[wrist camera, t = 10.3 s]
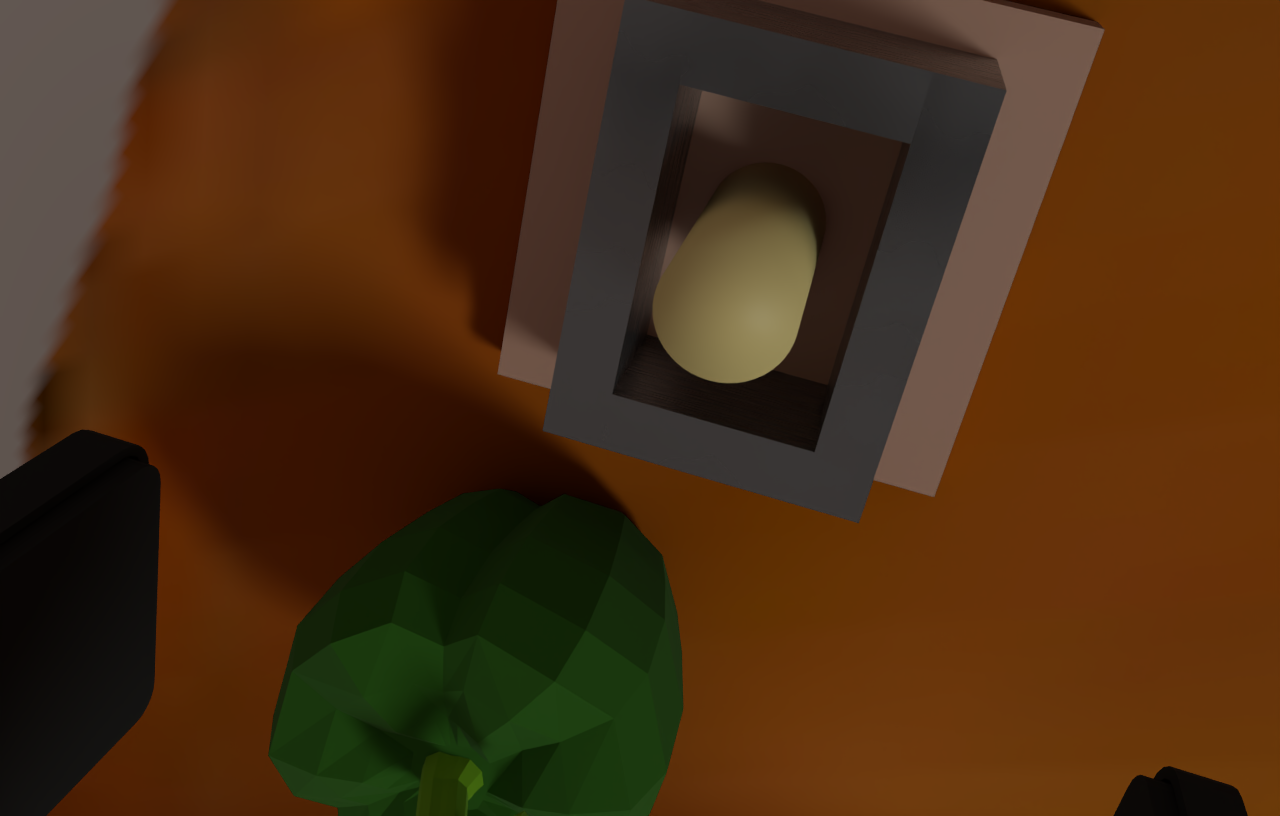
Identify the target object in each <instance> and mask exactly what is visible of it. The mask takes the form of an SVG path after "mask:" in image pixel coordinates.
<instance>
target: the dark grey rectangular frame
mask: <svg viewBox="0 0 1280 816" xmlns="http://www.w3.org/2000/svg"><path fill="white" fill-rule="evenodd" d="M702 91H706V92H710V93H714V94H718V95H722V96H726V97H730V98H734V99H737V100H741V101H745V102H749V103H753V104H757V105H761V106H765V107H769V108H772V109H776V110H780V111H784V112H788V113H792V114H796V115H800V116H804V117H807V118H811V119H815V120H819V121H823V122H827V123H831V124H835V125H839V126H842V127H846V128H850V129H854V130H858V131H862V132H866V133H870V134H874V135H877V136H881V137H885V138H889V139H893V140H897V141H901V142H902V146H901V149H900V152H899V155H898V159H897V162H896V165H895V168H894V171H893V175H892V178H891V181H890V184H889V188H888V191H887V194H886V197H885V201H884V204H883V207H882V210H881V214H880V217H879V220H878V223H877V226H876V230H875V233H874V236H873V239H872V243H871V246H870V249H869V252H868V256H867V259H866V262H865V265H864V269H863V272H862V275H861V278H860V282H859V285H858V288H857V291H856V294H855V298H854V301H853V304H852V307H851V311H850V314H849V317H848V320H847V324H846V327H845V330H844V333H843V337H842V340H841V343H840V346H839V350H838V353H837V356H836V359H835V362H834V366H833V369H832V372H831V375H830V379H829V382H828V385H825V384H822V383H818V382H815V381H811V380H807V379H804V378H800V377H797V376H793V375H790V374H786V373H783V372H779V371H775V370H771V371H770V372H768V373H766V374H765V375H763V376H761V377H758V378H756V379H753V380H749V381H746V382H740V383H719V382H714V381H709V380H706V379H703V378H700V377H698V376H696V375H694V374H692V373H690V372H689V371H687V370H685V369H684V368H682V367H681V366H680V365H679V364H678V363H676V362H675V361H674V360H673V359H672V357H671V356H670V355H669V354H668V353H667V351H666V350H665V349H664V347H663V345H662V344H661V342H660V340H659V338H658V337H654V336H651V335H647V332H648V328H649V323H650V319H651V315H652V310H653V299H654V294H655V290H656V287H657V285H658V283H659V279H660V275H661V270H662V266H663V262H664V257H665V253H666V248H667V244H668V240H669V235H670V231H671V226H672V222H673V217H674V213H675V209H676V204H677V200H678V195H679V191H680V187H681V182H682V178H683V173H684V169H685V165H686V160H687V156H688V151H689V147H690V142H691V138H692V134H693V129H694V125H695V120H696V116H697V112H698V107H699V103H700V98H701V94H702ZM1006 91H1007V90H1006V86H1005V83H1004V80H1003V77H1002V74H1001V70H1000V67H999V64H998V61H997V59H994V58H990V57H986V56H982V55H978V54H974V53H969V52H965V51H961V50H957V49H953V48H949V47H945V46H941V45H937V44H933V43H929V42H925V41H921V40H917V39H913V38H909V37H905V36H901V35H897V34H893V33H889V32H885V31H881V30H877V29H873V28H869V27H865V26H861V25H857V24H852V23H848V22H844V21H840V20H836V19H832V18H828V17H824V16H820V15H816V14H812V13H808V12H804V11H800V10H796V9H792V8H788V7H784V6H780V5H776V4H772V3H768V2H764V1H760V0H625V1H624V6H623V11H622V16H621V22H620V27H619V32H618V37H617V43H616V48H615V53H614V58H613V64H612V69H611V74H610V79H609V85H608V90H607V95H606V100H605V106H604V111H603V116H602V121H601V127H600V132H599V137H598V143H597V148H596V153H595V158H594V164H593V169H592V174H591V179H590V185H589V190H588V195H587V200H586V206H585V211H584V216H583V221H582V227H581V232H580V237H579V242H578V248H577V253H576V258H575V263H574V269H573V274H572V279H571V284H570V290H569V295H568V300H567V305H566V311H565V316H564V321H563V326H562V332H561V337H560V342H559V347H558V353H557V358H556V363H555V368H554V374H553V379H552V384H551V389H550V395H549V400H548V405H547V410H546V416H545V421H544V426H543V431H545V432H549V433H552V434H555V435H559V436H562V437H566V438H569V439H573V440H576V441H579V442H583V443H586V444H590V445H593V446H597V447H600V448H603V449H607V450H610V451H614V452H617V453H621V454H624V455H627V456H631V457H634V458H638V459H641V460H645V461H648V462H651V463H655V464H658V465H662V466H665V467H669V468H672V469H675V470H679V471H682V472H686V473H689V474H693V475H696V476H699V477H703V478H706V479H710V480H713V481H717V482H720V483H723V484H727V485H730V486H734V487H737V488H740V489H744V490H747V491H751V492H754V493H758V494H761V495H764V496H768V497H771V498H775V499H778V500H782V501H785V502H788V503H792V504H795V505H799V506H802V507H806V508H809V509H812V510H816V511H819V512H823V513H826V514H830V515H833V516H836V517H840V518H843V519H847V520H850V521H854V522H857V523H859V520H860V517H861V515H862V512H863V509H864V506H865V503H866V500H867V497H868V494H869V491H870V488H871V485H872V482H873V479H874V477H875V474H876V471H877V468H878V465H879V462H880V459H881V456H882V453H883V450H884V447H885V444H886V442H887V439H888V436H889V433H890V430H891V427H892V424H893V421H894V418H895V415H896V412H897V409H898V407H899V404H900V401H901V398H902V395H903V392H904V389H905V386H906V383H907V380H908V377H909V374H910V371H911V369H912V366H913V363H914V360H915V357H916V354H917V351H918V348H919V345H920V342H921V339H922V336H923V334H924V331H925V328H926V325H927V322H928V319H929V316H930V313H931V310H932V307H933V304H934V301H935V298H936V296H937V293H938V290H939V287H940V284H941V281H942V278H943V275H944V272H945V269H946V266H947V263H948V261H949V258H950V255H951V252H952V249H953V246H954V243H955V240H956V237H957V234H958V231H959V228H960V225H961V223H962V220H963V217H964V214H965V211H966V208H967V205H968V202H969V199H970V196H971V193H972V190H973V188H974V185H975V182H976V179H977V176H978V173H979V170H980V167H981V164H982V161H983V158H984V155H985V153H986V150H987V147H988V144H989V141H990V138H991V135H992V132H993V129H994V126H995V123H996V120H997V117H998V115H999V112H1000V109H1001V106H1002V103H1003V100H1004V97H1005V94H1006Z"/></svg>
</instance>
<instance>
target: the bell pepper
mask: <svg viewBox="0 0 1280 816" xmlns="http://www.w3.org/2000/svg"><path fill="white" fill-rule="evenodd" d="M682 712H683V679H682V650H681V641H680V633H679V624H678V616H677V610H676V606H675V603H674V599H673V595H672V591H671V587H670V583H669V580H668V576H667V572H666V568H665V564H664V560H663V556H662V554H661V553H660V552H659V551H658V550H657V549H656V548H655V547H654V546H653V545H652V544H651V543H650V541H649V540H648V539H647V538H646V537H645V536H644V535H643V534H642V533H641V532H640V531H639V530H638V529H637V528H636V526H635V525H634V524H633V523H632V522H631V521H630V520H629V519H628V518H627V517H626V516H625V515H624V514H623V513H622V512H620V511H617V510H613V509H610V508H607V507H604V506H601V505H598V504H594V503H591V502H588V501H585V500H582V499H578V498H575V497H572V496H569V495H566V494H563V495H562V496H560V497H558V498H556V499H554V500H552V501H550V502H548V503H547V504H545V505H543V506H539V505H537V504H536V503H534V502H532V501H531V500H529V499H527V498H526V497H524V496H522V495H521V494H519V493H517V492H515V491H510V490H505V489H493V490H485V491H478V492H470V493H463V494H461V495H459V496H457V497H455V498H453V499H452V500H450V501H448V502H446V503H444V504H442V505H440V506H438V507H436V508H434V509H432V510H430V511H429V512H427V513H426V514H424V515H423V516H421V517H419V518H418V519H416V520H415V521H413V522H412V523H410V524H409V525H407V526H406V527H404V528H403V529H401V530H400V531H398V532H397V533H395V534H394V535H392V536H390V537H389V538H387V539H386V540H384V541H383V542H381V543H380V544H379V545H378V546H377V547H375V548H374V549H373V550H372V551H371V552H370V553H368V554H367V555H366V556H365V557H364V558H362V559H361V560H360V561H359V562H358V563H356V564H355V565H354V566H353V567H352V568H350V569H349V570H348V571H347V572H346V573H344V574H343V575H342V576H341V577H340V578H339V579H338V580H337V581H336V582H335V583H334V584H333V586H332V587H331V588H330V589H329V590H328V591H327V592H326V594H325V595H324V596H323V597H322V598H321V599H320V600H319V602H318V603H317V604H316V605H315V606H314V607H313V608H312V610H311V611H310V612H309V613H308V614H307V615H306V616H305V618H304V619H303V620H302V621H301V622H300V623H299V624H298V626H297V630H296V633H295V637H294V641H293V645H292V648H291V652H290V656H289V660H288V663H287V667H286V671H285V674H284V678H283V682H282V686H281V689H280V693H279V697H278V701H277V704H276V708H275V712H274V716H273V724H272V731H271V739H270V747H269V755H268V756H269V757H270V759H271V760H272V762H273V764H274V765H275V767H276V768H277V770H278V772H279V773H280V775H281V776H282V778H283V779H284V781H285V783H286V784H287V786H288V787H289V789H290V790H291V792H292V794H293V795H294V796H296V797H300V798H304V799H307V800H311V801H315V802H318V803H322V804H326V805H330V806H333V807H337V808H338V816H648V815H649V814H650V812H651V809H652V807H653V804H654V802H655V799H656V797H657V795H658V792H659V790H660V787H661V785H662V782H663V780H664V777H665V775H666V773H667V769H668V765H669V761H670V758H671V754H672V750H673V746H674V742H675V739H676V735H677V731H678V727H679V723H680V720H681V716H682Z"/></svg>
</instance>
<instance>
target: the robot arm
mask: <svg viewBox="0 0 1280 816" xmlns="http://www.w3.org/2000/svg"><path fill="white" fill-rule="evenodd" d="M160 486H161V481H160V474H159V471H158V469H157V468H156V467H154V466H153V465H149V461H148V456H147V454H146V452H145V450H144V449H143V448H142V447H140V446H139V445H136V444H133V443H129V442H126V441H123V440H120V439H117V438H113V437H110V436H107V435H104V434H101V433H97V432H94V431H91V430H80V431H78V432H75V433H73V434H71V435H70V436H68V437H66V438H65V439H63V440H62V441H60V442H59V443H57V444H55V445H54V446H52V447H51V448H49V449H47V450H46V451H44V452H43V453H41V454H39V455H38V456H36V457H35V458H33V459H31V460H30V461H28V462H27V463H25V464H23V465H22V466H20V467H19V468H17V469H16V470H14V471H12V472H11V473H9V474H8V475H6V476H4V477H3V478H1V479H0V816H46V815H47V814H48V813H49V812H50V811H51V810H52V809H53V808H54V807H55V806H56V805H57V804H58V803H59V802H60V801H61V800H62V799H63V798H64V797H65V796H66V795H67V794H68V792H69V791H70V790H71V789H72V788H73V787H74V786H75V785H76V784H77V783H78V782H79V781H80V780H81V779H82V778H83V777H84V776H85V775H86V774H87V773H88V772H89V771H90V770H91V769H92V768H93V767H94V766H95V765H96V764H97V763H98V761H99V760H100V759H101V758H102V757H103V756H104V755H105V754H106V753H107V752H108V751H109V750H110V749H111V748H112V747H113V746H114V745H115V744H116V743H117V742H118V741H119V740H120V739H121V738H122V737H123V736H124V735H125V734H126V733H127V732H128V730H129V729H130V728H131V727H132V726H133V725H134V724H135V723H136V722H137V721H138V720H139V718H140V717H141V716H142V714H143V713H144V711H145V709H146V708H147V705H148V703H149V701H150V699H151V696H152V692H153V688H154V678H155V646H156V614H157V582H158V550H159V518H160ZM1114 816H1248V815H1247V812H1246V809H1245V806H1244V803H1243V800H1242V797H1241V795H1240V793H1239V791H1238V790H1237V789H1236V788H1235V787H1233V786H1231V785H1228V784H1225V783H1222V782H1219V781H1215V780H1212V779H1209V778H1206V777H1202V776H1199V775H1196V774H1193V773H1190V772H1186V771H1183V770H1180V769H1177V768H1174V767H1170V766H1168V767H1163V768H1162V769H1161V770H1160V771H1159V772H1158V773H1157V774H1156V776H1155V777H1154V779H1152V778H1149V777H1146V776H1143V775H1138V776H1136V777H1135V778H1134V779H1133V780H1132V782H1131V783H1130V785H1129V786H1128V788H1127V790H1126V792H1125V794H1124V796H1123V798H1122V800H1121V802H1120V804H1119V806H1118V808H1117V810H1116V812H1115V814H1114Z"/></svg>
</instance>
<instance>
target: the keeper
mask: <svg viewBox="0 0 1280 816" xmlns="http://www.w3.org/2000/svg"><path fill="white" fill-rule="evenodd" d="M624 1H625V0H557V6H556V13H555V19H554V25H553V31H552V38H551V44H550V50H549V56H548V63H547V69H546V75H545V81H544V88H543V94H542V100H541V106H540V113H539V119H538V125H537V131H536V138H535V144H534V150H533V157H532V163H531V169H530V175H529V182H528V188H527V194H526V200H525V207H524V213H523V219H522V225H521V232H520V238H519V244H518V250H517V257H516V263H515V269H514V275H513V282H512V288H511V294H510V300H509V307H508V313H507V319H506V325H505V332H504V338H503V344H502V350H501V357H500V363H499V369H498V374H500V375H503V376H507V377H510V378H514V379H517V380H521V381H524V382H528V383H531V384H535V385H539V386H542V387H546V388H549V389H551V384H552V379H553V374H554V368H555V363H556V358H557V353H558V347H559V342H560V337H561V332H562V326H563V321H564V316H565V311H566V305H567V300H568V295H569V290H570V284H571V279H572V274H573V269H574V263H575V258H576V253H577V248H578V242H579V237H580V232H581V227H582V221H583V216H584V211H585V206H586V200H587V195H588V190H589V185H590V179H591V174H592V169H593V164H594V158H595V153H596V148H597V143H598V137H599V132H600V127H601V121H602V116H603V111H604V106H605V100H606V95H607V90H608V85H609V79H610V74H611V69H612V64H613V58H614V53H615V48H616V43H617V37H618V32H619V27H620V22H621V16H622V11H623V6H624ZM760 1H764V2H768V3H772V4H776V5H780V6H784V7H788V8H792V9H796V10H800V11H804V12H808V13H812V14H816V15H820V16H824V17H828V18H832V19H836V20H840V21H844V22H848V23H852V24H857V25H861V26H865V27H869V28H873V29H877V30H881V31H885V32H889V33H893V34H897V35H901V36H905V37H909V38H913V39H917V40H921V41H925V42H929V43H933V44H937V45H941V46H945V47H949V48H953V49H957V50H961V51H965V52H969V53H974V54H978V55H982V56H986V57H990V58H994V59H997V61H998V64H999V67H1000V70H1001V74H1002V77H1003V80H1004V83H1005V86H1006V90H1007V91H1006V94H1005V97H1004V100H1003V103H1002V106H1001V109H1000V112H999V115H998V117H997V120H996V123H995V126H994V129H993V132H992V135H991V138H990V141H989V144H988V147H987V150H986V153H985V155H984V158H983V161H982V164H981V167H980V170H979V173H978V176H977V179H976V182H975V185H974V188H973V190H972V193H971V196H970V199H969V202H968V205H967V208H966V211H965V214H964V217H963V220H962V223H961V225H960V228H959V231H958V234H957V237H956V240H955V243H954V246H953V249H952V252H951V255H950V258H949V261H948V263H947V266H946V269H945V272H944V275H943V278H942V281H941V284H940V287H939V290H938V293H937V296H936V298H935V301H934V304H933V307H932V310H931V313H930V316H929V319H928V322H927V325H926V328H925V331H924V334H923V336H922V339H921V342H920V345H919V348H918V351H917V354H916V357H915V360H914V363H913V366H912V369H911V371H910V374H909V377H908V380H907V383H906V386H905V389H904V392H903V395H902V398H901V401H900V404H899V407H898V409H897V412H896V415H895V418H894V421H893V424H892V427H891V430H890V433H889V436H888V439H887V442H886V444H885V447H884V450H883V453H882V456H881V459H880V462H879V465H878V468H877V471H876V474H875V477H874V479H873V480H876V481H879V482H883V483H886V484H890V485H893V486H897V487H900V488H904V489H907V490H911V491H915V492H918V493H922V494H925V495H929V496H932V497H934V496H935V493H936V490H937V488H938V485H939V482H940V479H941V477H942V474H943V471H944V468H945V466H946V463H947V460H948V457H949V455H950V452H951V449H952V446H953V444H954V441H955V438H956V435H957V433H958V430H959V427H960V424H961V422H962V419H963V416H964V413H965V411H966V408H967V405H968V403H969V400H970V397H971V394H972V392H973V389H974V386H975V383H976V381H977V378H978V375H979V372H980V370H981V367H982V364H983V361H984V359H985V356H986V353H987V350H988V348H989V345H990V342H991V339H992V337H993V334H994V331H995V328H996V326H997V323H998V320H999V317H1000V315H1001V312H1002V309H1003V307H1004V304H1005V301H1006V298H1007V296H1008V293H1009V290H1010V287H1011V285H1012V282H1013V279H1014V276H1015V274H1016V271H1017V268H1018V265H1019V263H1020V260H1021V257H1022V254H1023V252H1024V249H1025V246H1026V243H1027V241H1028V238H1029V235H1030V232H1031V230H1032V227H1033V224H1034V222H1035V219H1036V216H1037V213H1038V211H1039V208H1040V205H1041V202H1042V200H1043V197H1044V194H1045V191H1046V189H1047V186H1048V183H1049V180H1050V178H1051V175H1052V172H1053V169H1054V167H1055V164H1056V161H1057V158H1058V156H1059V153H1060V150H1061V147H1062V145H1063V142H1064V139H1065V137H1066V134H1067V131H1068V128H1069V126H1070V123H1071V120H1072V117H1073V115H1074V112H1075V109H1076V106H1077V104H1078V101H1079V98H1080V95H1081V93H1082V90H1083V87H1084V84H1085V82H1086V79H1087V76H1088V73H1089V71H1090V68H1091V65H1092V62H1093V60H1094V57H1095V54H1096V52H1097V49H1098V46H1099V43H1100V41H1101V38H1102V35H1103V32H1104V30H1105V29H1104V28H1103V27H1102V26H1101V25H1100V24H1099V23H1098V22H1095V21H1091V20H1087V19H1083V18H1078V17H1074V16H1070V15H1066V14H1061V13H1057V12H1053V11H1049V10H1044V9H1040V8H1036V7H1032V6H1027V5H1023V4H1019V3H1015V2H1011V1H1006V0H760ZM901 146H902V142H901V141H897V140H893V139H889V138H885V137H881V136H877V135H874V134H870V133H866V132H862V131H858V130H854V129H850V128H846V127H842V126H839V125H835V124H831V123H827V122H823V121H819V120H815V119H811V118H807V117H804V116H800V115H796V114H792V113H788V112H784V111H780V110H776V109H772V108H769V107H765V106H761V105H757V104H753V103H749V102H745V101H741V100H737V99H734V98H730V97H726V96H722V95H718V94H714V93H710V92H706V91H702V94H701V98H700V103H699V107H698V112H697V116H696V120H695V125H694V129H693V134H692V138H691V142H690V147H689V151H688V156H687V160H686V165H685V169H684V173H683V178H682V182H681V187H680V191H679V195H678V200H677V204H676V209H675V213H674V217H673V222H672V226H671V231H670V235H669V240H668V244H667V248H666V253H665V257H664V262H663V266H662V270H661V275H660V279H659V283H658V285H657V287H656V290H655V294H654V299H653V310H652V315H651V319H650V323H649V328H648V332H647V335H651V336H654V337H658V338H659V340H660V342H661V344H662V345H663V347H664V349H665V350H666V351H667V353H668V354H669V355H670V356H671V357H672V359H673V360H674V361H675V362H676V363H678V364H679V365H680V366H681V367H682V368H684V369H685V370H687V371H689V372H690V373H692V374H694V375H696V376H698V377H700V378H703V379H706V380H709V381H714V382H719V383H740V382H746V381H749V380H753V379H756V378H758V377H761V376H763V375H765V374H766V373H768V372H770V371H771V370H775V371H779V372H783V373H786V374H790V375H793V376H797V377H800V378H804V379H807V380H811V381H815V382H818V383H822V384H825V385H828V382H829V379H830V375H831V372H832V369H833V366H834V362H835V359H836V356H837V353H838V350H839V346H840V343H841V340H842V337H843V333H844V330H845V327H846V324H847V320H848V317H849V314H850V311H851V307H852V304H853V301H854V298H855V294H856V291H857V288H858V285H859V282H860V278H861V275H862V272H863V269H864V265H865V262H866V259H867V256H868V252H869V249H870V246H871V243H872V239H873V236H874V233H875V230H876V226H877V223H878V220H879V217H880V214H881V210H882V207H883V204H884V201H885V197H886V194H887V191H888V188H889V184H890V181H891V178H892V175H893V171H894V168H895V165H896V162H897V159H898V155H899V152H900V149H901Z"/></svg>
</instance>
